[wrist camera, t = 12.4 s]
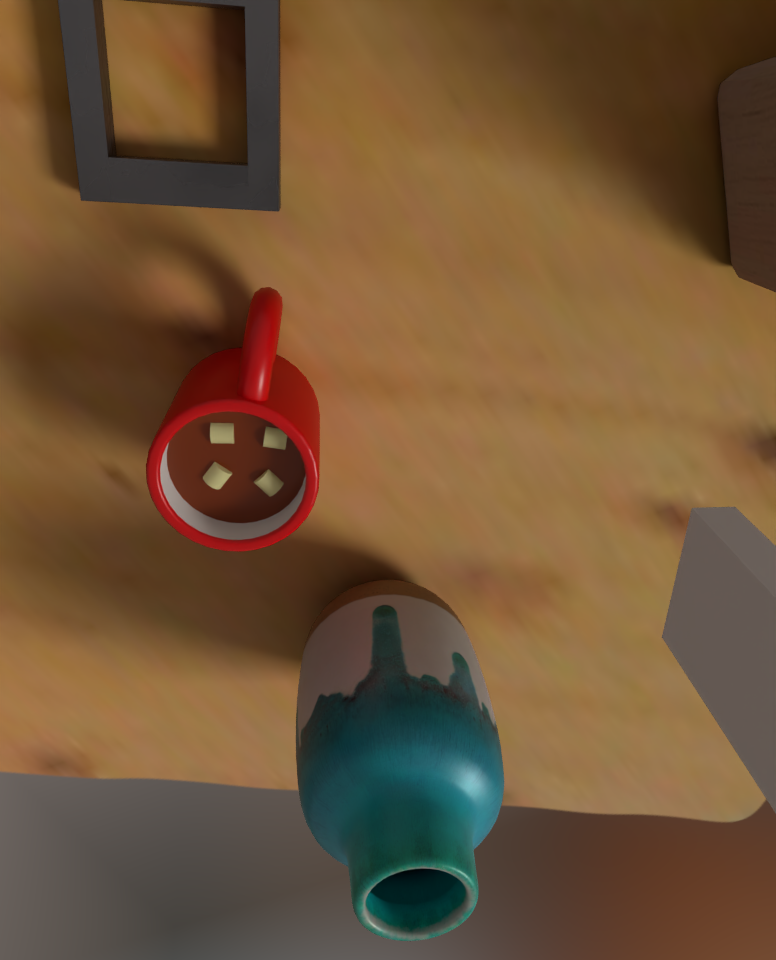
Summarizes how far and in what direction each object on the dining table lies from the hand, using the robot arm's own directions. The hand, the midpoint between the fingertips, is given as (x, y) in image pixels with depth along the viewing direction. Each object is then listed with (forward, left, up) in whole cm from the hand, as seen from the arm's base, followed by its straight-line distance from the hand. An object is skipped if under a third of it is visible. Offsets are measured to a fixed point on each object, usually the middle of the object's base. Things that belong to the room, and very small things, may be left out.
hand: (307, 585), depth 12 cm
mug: (-3, -6, -28) cm, 29 cm away
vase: (+5, -22, -28) cm, 36 cm away
